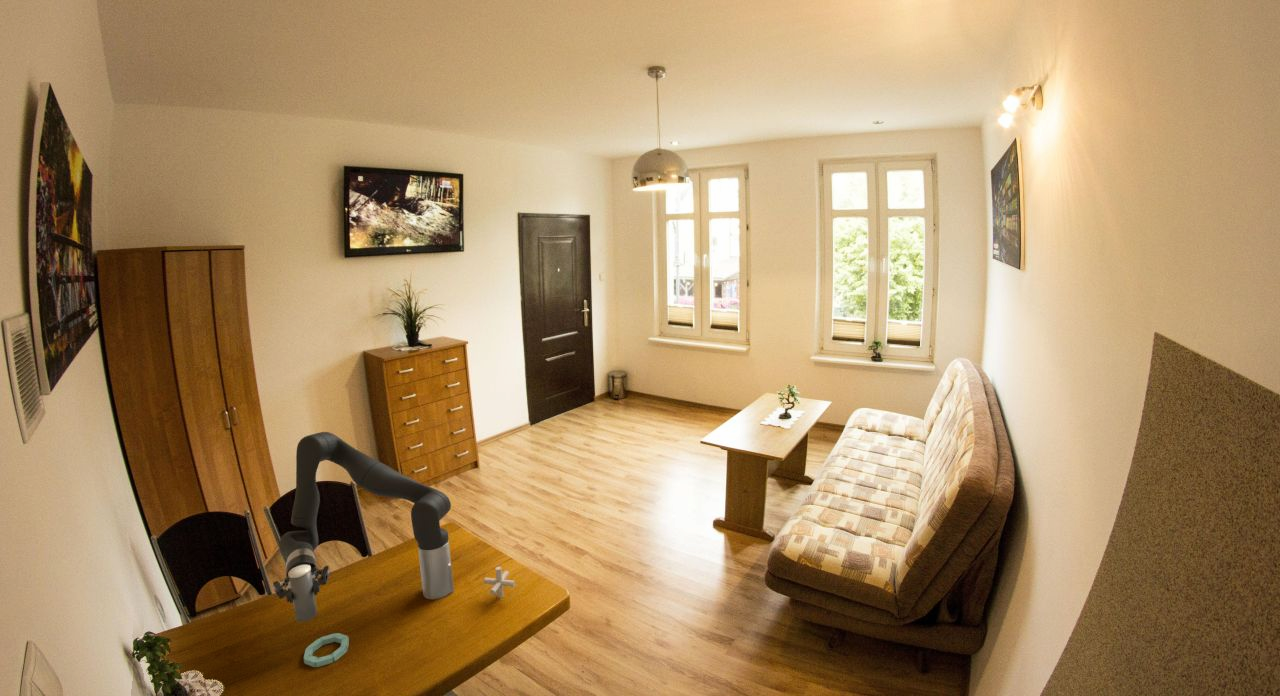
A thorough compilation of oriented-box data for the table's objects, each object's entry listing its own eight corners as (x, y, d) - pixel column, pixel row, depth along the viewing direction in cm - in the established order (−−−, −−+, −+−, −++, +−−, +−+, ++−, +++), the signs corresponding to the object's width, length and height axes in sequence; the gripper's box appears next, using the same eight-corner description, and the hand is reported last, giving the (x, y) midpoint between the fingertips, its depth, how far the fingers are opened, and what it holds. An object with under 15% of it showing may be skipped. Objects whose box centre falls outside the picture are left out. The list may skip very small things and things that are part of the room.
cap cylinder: (318, 607, 149) (312, 562, 146) (316, 618, 144) (309, 572, 142) (297, 612, 147) (290, 567, 144) (294, 624, 142) (286, 578, 139)
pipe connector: (508, 608, 162) (506, 579, 160) (478, 604, 164) (476, 576, 162) (521, 588, 171) (519, 560, 170) (493, 585, 173) (491, 557, 172)
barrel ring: (349, 634, 152) (349, 629, 152) (346, 658, 143) (346, 653, 143) (308, 645, 148) (307, 640, 148) (302, 671, 139) (301, 666, 138)
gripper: (270, 563, 151) (269, 593, 137) (327, 546, 159) (331, 573, 145) (273, 586, 152) (273, 618, 139) (330, 569, 160) (335, 598, 146)
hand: (303, 595), depth 142 cm, fingers closed on cap cylinder, 5 cm apart
